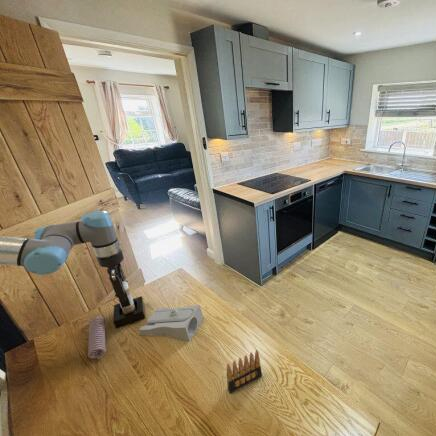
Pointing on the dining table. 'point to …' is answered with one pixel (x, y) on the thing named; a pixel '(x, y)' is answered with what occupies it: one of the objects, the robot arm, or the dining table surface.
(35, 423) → the dining table surface
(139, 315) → the bottle holder
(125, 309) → the sprinkles bottle
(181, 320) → the wedge sharpener
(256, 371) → the ammunition clip
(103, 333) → the coil
